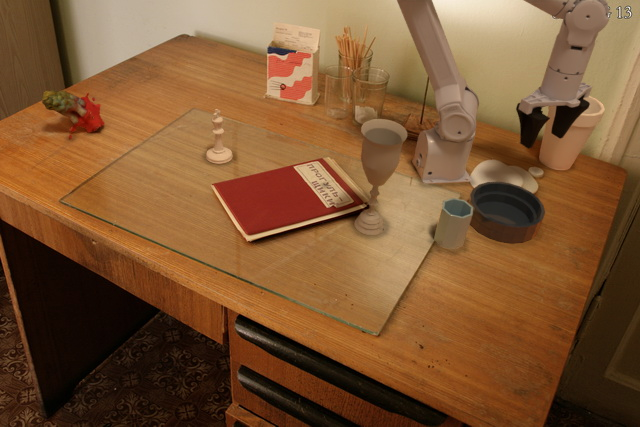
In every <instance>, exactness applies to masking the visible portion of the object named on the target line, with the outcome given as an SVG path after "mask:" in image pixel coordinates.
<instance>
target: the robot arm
mask: <svg viewBox="0 0 640 427" xmlns="http://www.w3.org/2000/svg"><path fill="white" fill-rule="evenodd" d="M523 1H524V2H525V3H527V4H530V5H531V6H533V7H535V8H537V9H539V10H540V11H542V12H544V13H546V14H548V15H549V16H551V17H553V18H555V19H560V20H562V21H561V25H560V28H559V31H558V34H557V35H556V37H555V40H554V43H553V46H552V50H551V52H550V56H549V59H548V62H547V66H546V68H545V72H544V74H543V78H542V81H541V85H540V86H539V87H537V88H536V89H535V90H534V91H532V92H531V93H530V94H528V95H527V96H525V97H522V98H521V99H520V102H518V103H517V104H516V107H515V110H516V113H517V117H518V120H519V128H520V140H519V143H520V145H522V146H524V147H525V148H526V149H532V147H533V146H534V144H535V143H536V140H537V139H538V136H539V134H540V132H541V130H542V128H543V127H545V125H546V122H547V121H548V120H549V119H550V118H549V117H547V116H548V115H546V114H544V111H543V110H542V109H543V108H545V107H548V106H556V113H555V118H554V121H553V125H552V132H551V133H552V134H553V135H555V136H557V137H558V138H560V139H561V138H563V137H564V135H565V134H566V132H567V131H568V130H569V128H570V127H571V125H572V124H573V123H574V121H575V120H576V119H577V118H578V117H579V116H580V115H581V114H582V113H583V112H584V111H585V110H587V109H588V108H589V105H590V103H589V102H588V101H586V100H584V99H583V98H586V97H589V96H590V94H591V92H592V89H593V86H592V85H590V84H588V83H586V82H584V81H583V79H584V76H585V73H586V70H587V67H588V65H589V62H590V59H591V56H592V54H593V51H594V48H595V45H596V40H597V38H598V36H599V33H600V32H601V31H602V30H604V29H605V28H606V26H607V25H608V24H609V21H610V18H609V15H610V8H609V4H608V1H607V0H523ZM396 2H397V5H398V7H399V9H400V12H401V14H402V16H403V19H404V22H405V24H406V26H407V28H408V31H409V33H410V37H411V38H412V41H413V44H414V45H415V48H416V50H417V53H418V56H419V58H420V60H421V63H422V65H423V68H424V70H425V72H426V75H427V77H428V80H429V82H430V85H431V87H432V89H433V93H434V100H435V102H434V103H435V109H436V112H437V114H438V121H436V123H435V125H434V126H433V127H431V128H429V129H425V130H421V131H420V132H419V133H418V136H417V141H416V146H415V151H414V156H413V158H412V159H411V163H412V164H413V166H414V167H415V170H416V171H417V173H418V176H419V177H420V179H421V181H422V183H423V184H425V185H431V184H450V183H451V184H452V183H470V182H472V181H473V179H472V178H471V176H470V174H469V173H468V170H467V165H468V162H469V158H470V154H471V150H472V147H473V144H474V141H475V136H476V130H477V116H478V115H477V114H478V109H479V106H480V100H479V96H478V95H477V93H476V92H475V91H474V90H473V89H471V88H470V86H469V85H468V83H467V80H466V78H465V77H464V76H463V75H462V74H461V73H460V70H459V67H458V65H457V62H456V59H455V56H454V55H453V52H452V49H451V47H450V44H449V42H448V39H447V36H446V34H445V31H444V29H443V26H442V23H441V21H440V18H439V15H438V13H437V9H436V8H435V5H434V2H433V0H396Z"/></svg>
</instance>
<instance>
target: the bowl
mask: <svg viewBox="0 0 640 427" xmlns="http://www.w3.org/2000/svg"><path fill="white" fill-rule="evenodd" d="M467 202H468V203H469V204H470V205H471V206H472V207H473V215H472V218H471V221H470V225H469V226H471V227H472V228H473V229H474V230H475V231H476V232H478V233H479V234H481V235H482V236H484V237H485V238H488V239H490V240H493V241H496V242H500V243H505V244H519V243H520V244H523V243H525V242H529V241H531V240H532V239H533V238H534V237H535V236H537V235H538V233H539V230H540V227H541V225H542V223H543V220H544V217H545V214H546V210H545V206H544V204H543V202H542V201H541V200H540V198H539V197H538V196H537V195H535V194H534V193H532V191H530V190H528V189H526V188H524V187H522V186H520V185H517V184H513V183H510V182H505V181H498V180H497V181H486V182H483V183H480V184H477V186H475V187H474V188H472V190H471V191H470V194H469V197H468V201H467Z"/></svg>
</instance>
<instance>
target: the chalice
mask: <svg viewBox="0 0 640 427" xmlns="http://www.w3.org/2000/svg"><path fill="white" fill-rule="evenodd" d="M360 131H361V135H362V145H361V152H360V153H361V154H360V161H361V165H362V170H363V173H364V174H365V177H366V180H367V182H368V184H370V185H372V188H371V190H370V191H369V194H370V198H369V199H367V204H368V205H369V208H368V209H364V210H362V211H361V212H360V213H359V215H358V216H357V218H356V219H355V220H354V228H355V229H356V230H357V231H358V232H359V233H361V234H363V235H366V236H377V235H380V234H382V233H383V232H384V230H385V229H384V228H383V227H384V219H383V216H382V214H381V213H380V212H379V211H378V210H376V206H378V205H379V200H378V199H377V198H378V196H379V195H380V194H381V193H380V191H379V187H382V186H384V185H385V184H386V183H387V182H388V181H389V179H391V177H392V176H393V175H394V173H395V171H396V169H397V168H398V167H399V164H400V161H401V160H400V159H401V155H402V150H403V143H404V142H405V141H406V140H407V138H408V131H407V129H406V128H405V127H404V126H403V125H401V124H400V123H398V122H396V121H394V120H390V119H387V118H386V119H384V118H374V119H370V120H367V121H365V122H363V124H362V126H361V127H360Z"/></svg>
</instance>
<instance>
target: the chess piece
mask: <svg viewBox="0 0 640 427" xmlns="http://www.w3.org/2000/svg"><path fill="white" fill-rule="evenodd" d="M221 113H222V112H221V110H219V108H215V109H214V113H213V114H212V116H213V117H212V118H211V122H212V125H213V128H212V130H211V133H212V134H214V138H215V139H214V146H213V147H211V148H208V149H207V151H206V153H205V159H206V160H207V161H208V162H209V163H212V164H216V165H223V164H226V163H229V162H230V161H231V160H232V159H233V157H234V156H233V152H232V150H231V149H230V148H228V147H226V146H224V144H223V139H222V134H223V133H225V129H224V128H223V127H222V126H223V125H222V124H223V122H224V118H223V117H222V116H219V115H220V114H221Z"/></svg>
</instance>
